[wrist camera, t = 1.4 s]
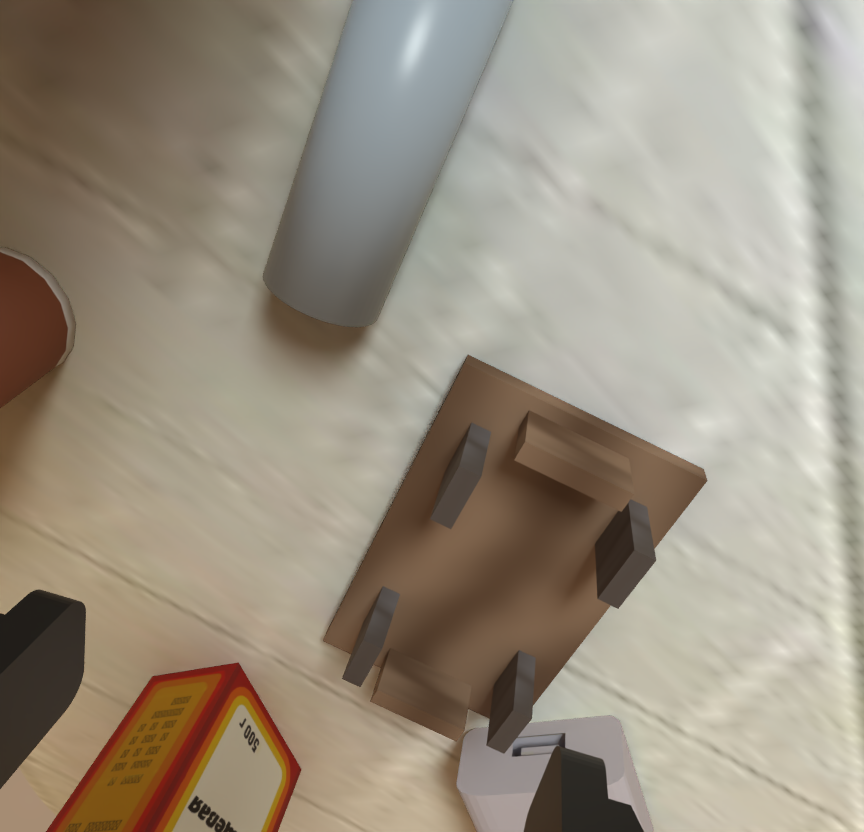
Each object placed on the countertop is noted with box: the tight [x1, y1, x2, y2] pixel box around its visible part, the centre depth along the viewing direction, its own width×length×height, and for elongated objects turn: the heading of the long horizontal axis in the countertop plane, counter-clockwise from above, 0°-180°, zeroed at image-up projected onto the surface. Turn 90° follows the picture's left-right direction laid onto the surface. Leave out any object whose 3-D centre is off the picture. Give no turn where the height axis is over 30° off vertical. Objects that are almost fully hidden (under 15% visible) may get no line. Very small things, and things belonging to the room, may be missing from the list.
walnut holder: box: [323, 355, 707, 754], centre depth 35 cm, size 12×19×5 cm, turn 156°
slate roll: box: [263, 0, 513, 327], centre depth 26 cm, size 14×5×5 cm, turn 156°
